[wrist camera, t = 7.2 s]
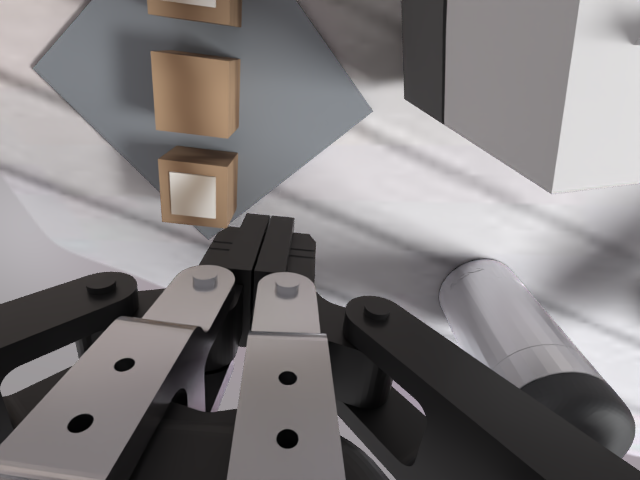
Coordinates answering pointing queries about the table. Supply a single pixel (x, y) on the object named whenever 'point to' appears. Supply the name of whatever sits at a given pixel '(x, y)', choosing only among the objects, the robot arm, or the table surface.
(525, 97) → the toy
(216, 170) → the marked block 2
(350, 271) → the table surface
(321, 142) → the mat
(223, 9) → the marked block 1
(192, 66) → the plain block
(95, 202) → the table surface
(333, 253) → the table surface
